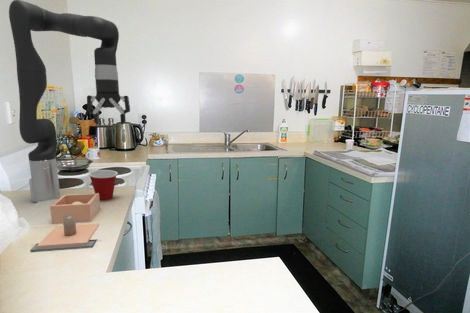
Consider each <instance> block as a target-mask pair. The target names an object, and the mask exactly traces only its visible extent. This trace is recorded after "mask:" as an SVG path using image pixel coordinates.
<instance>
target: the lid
mask: <svg viewBox="0 0 470 313" xmlns="http://www.w3.org/2000/svg"><path fill="white" fill-rule="evenodd" d="M76 223H77V222H75V215H66V216H64V217H63V223H62V225H58V226H56V225H55V227H54V228H52V230H51V231H50V232H49V233H48V234H47V235H46V236H45V237H44V238H43V239H42V240H41V241H40V242H38V243H39V244H38V243H37V244H38V245H37V249H38V248H52V247H66V246H80V245H88V243H89V241H90V240H92V239H91V238H92V237H93V235H94V234H95V232H96V231H97V230H98V228H99V226H100V223H92V224H91V223H89V224H76Z"/></svg>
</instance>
